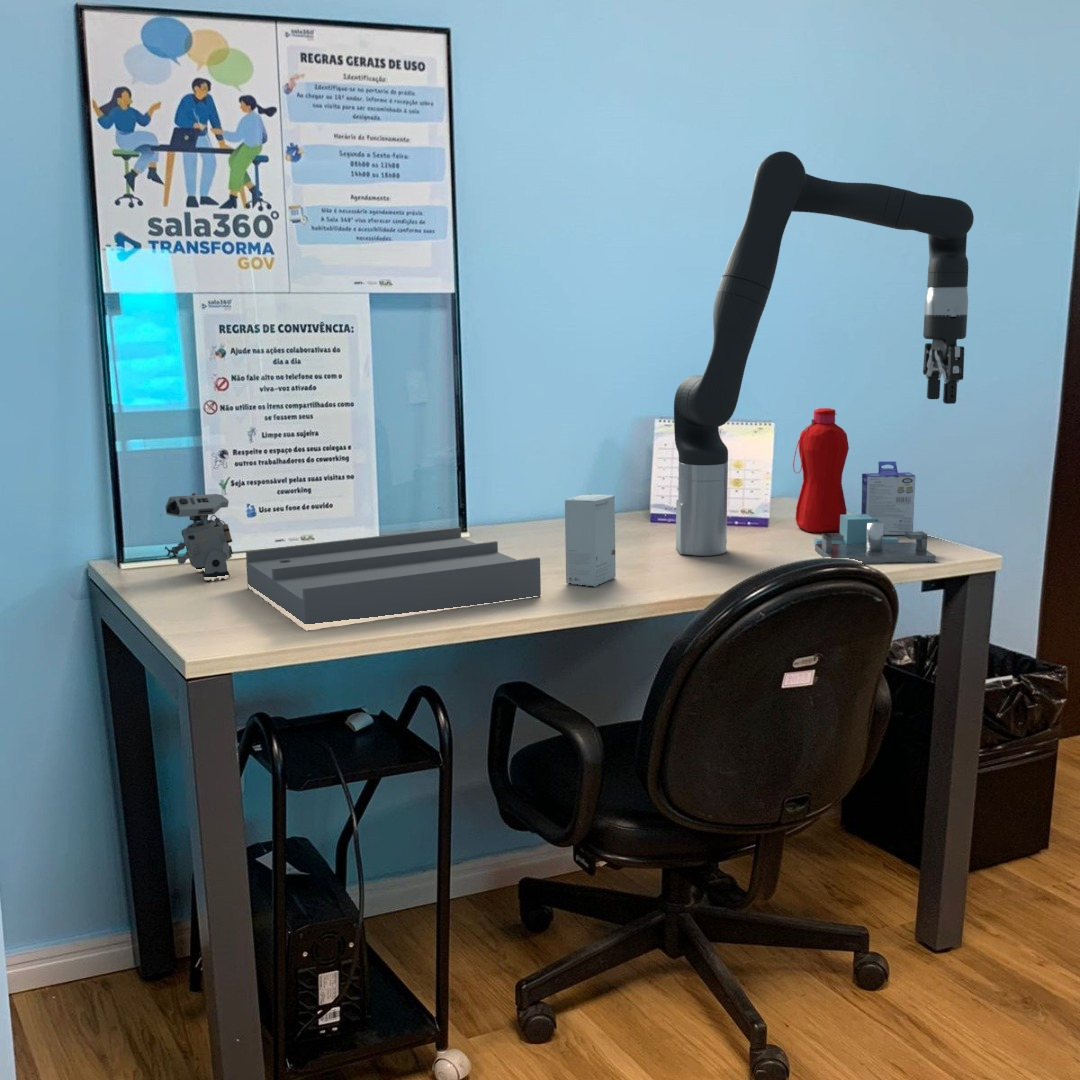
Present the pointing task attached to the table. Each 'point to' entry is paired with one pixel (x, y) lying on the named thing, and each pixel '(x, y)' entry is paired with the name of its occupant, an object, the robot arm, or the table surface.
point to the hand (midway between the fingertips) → (941, 401)
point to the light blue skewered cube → (855, 530)
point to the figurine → (202, 533)
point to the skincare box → (590, 539)
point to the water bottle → (822, 473)
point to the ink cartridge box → (889, 498)
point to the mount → (877, 547)
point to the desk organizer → (389, 575)
